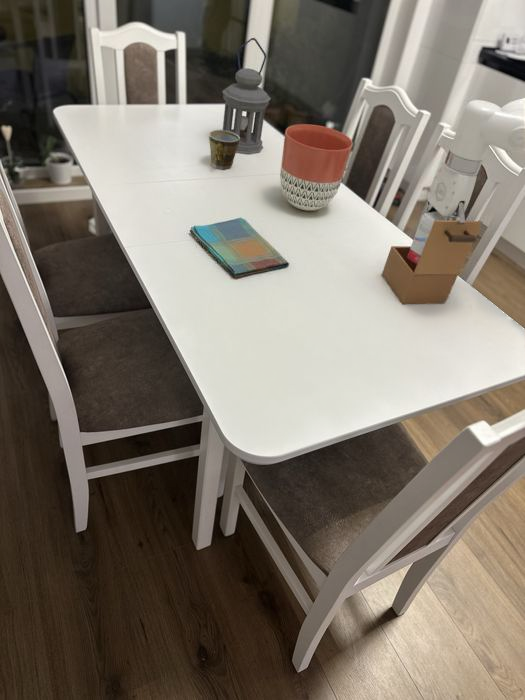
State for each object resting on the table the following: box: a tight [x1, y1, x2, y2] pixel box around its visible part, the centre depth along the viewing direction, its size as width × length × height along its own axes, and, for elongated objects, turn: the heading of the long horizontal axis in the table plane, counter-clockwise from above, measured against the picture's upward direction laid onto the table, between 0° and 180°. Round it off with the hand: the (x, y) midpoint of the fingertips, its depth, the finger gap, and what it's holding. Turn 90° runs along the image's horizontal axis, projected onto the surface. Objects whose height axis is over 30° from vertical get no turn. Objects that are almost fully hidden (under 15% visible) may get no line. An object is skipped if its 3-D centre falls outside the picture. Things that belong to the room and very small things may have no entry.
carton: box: [381, 245, 459, 305], centre depth 137 cm, size 13×12×9 cm
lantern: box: [221, 37, 272, 155], centre depth 186 cm, size 17×17×35 cm
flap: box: [414, 220, 484, 275], centre depth 124 cm, size 14×12×4 cm
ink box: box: [407, 211, 454, 264], centre depth 130 cm, size 9×5×12 cm, turn 124°
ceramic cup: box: [208, 129, 240, 171], centre depth 177 cm, size 13×10×10 cm
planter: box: [279, 123, 354, 212], centre depth 160 cm, size 20×20×21 cm
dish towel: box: [189, 217, 290, 278], centre depth 141 cm, size 17×23×2 cm
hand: (434, 234), depth 130 cm, fingers closed on ink box, 6 cm apart
